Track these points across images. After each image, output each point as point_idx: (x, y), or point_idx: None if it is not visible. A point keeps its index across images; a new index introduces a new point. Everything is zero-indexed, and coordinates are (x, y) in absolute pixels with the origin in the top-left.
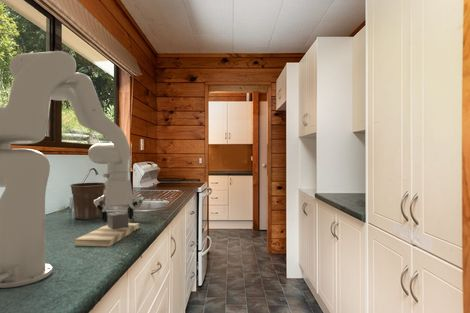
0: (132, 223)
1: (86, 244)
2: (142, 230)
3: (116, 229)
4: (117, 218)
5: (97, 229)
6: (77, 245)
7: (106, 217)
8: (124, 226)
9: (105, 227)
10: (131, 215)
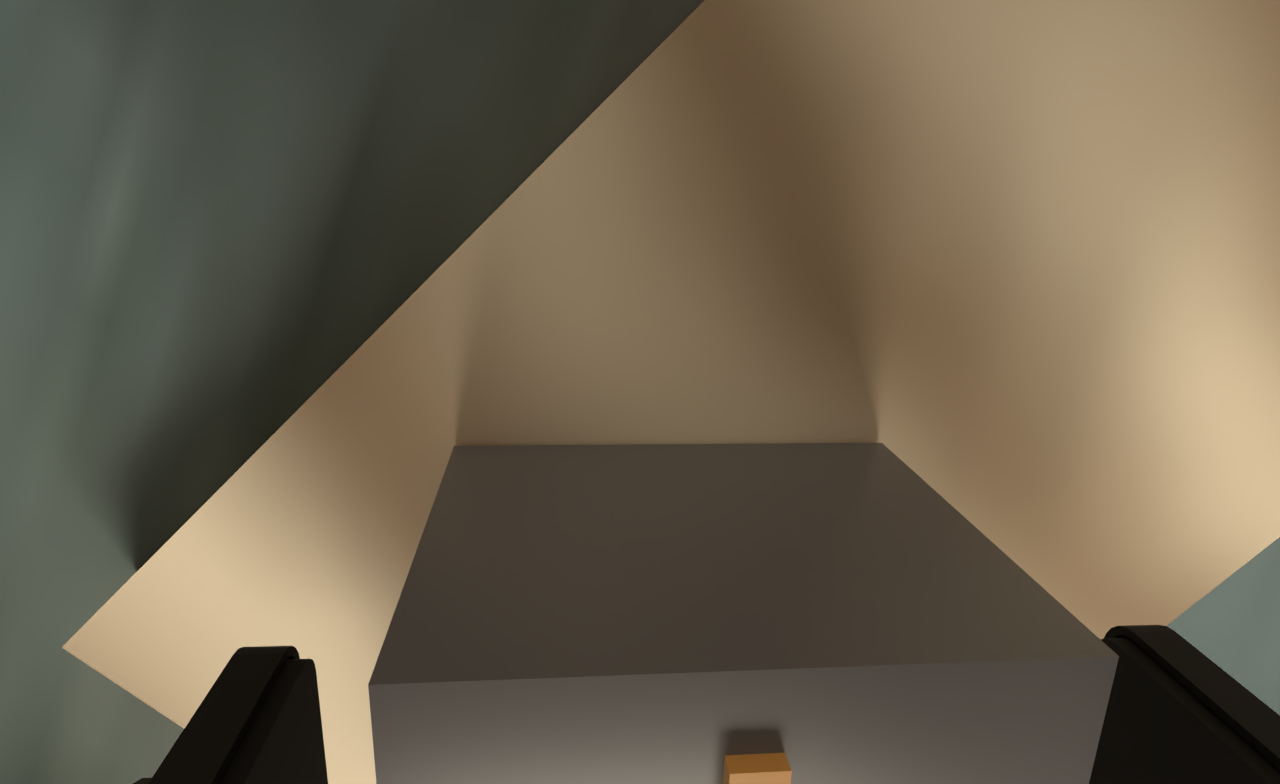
0: None
1: None
2: (120, 305)
3: (819, 353)
4: (849, 583)
5: None
6: None
7: (1226, 728)
8: (568, 449)
9: None
10: (212, 725)
